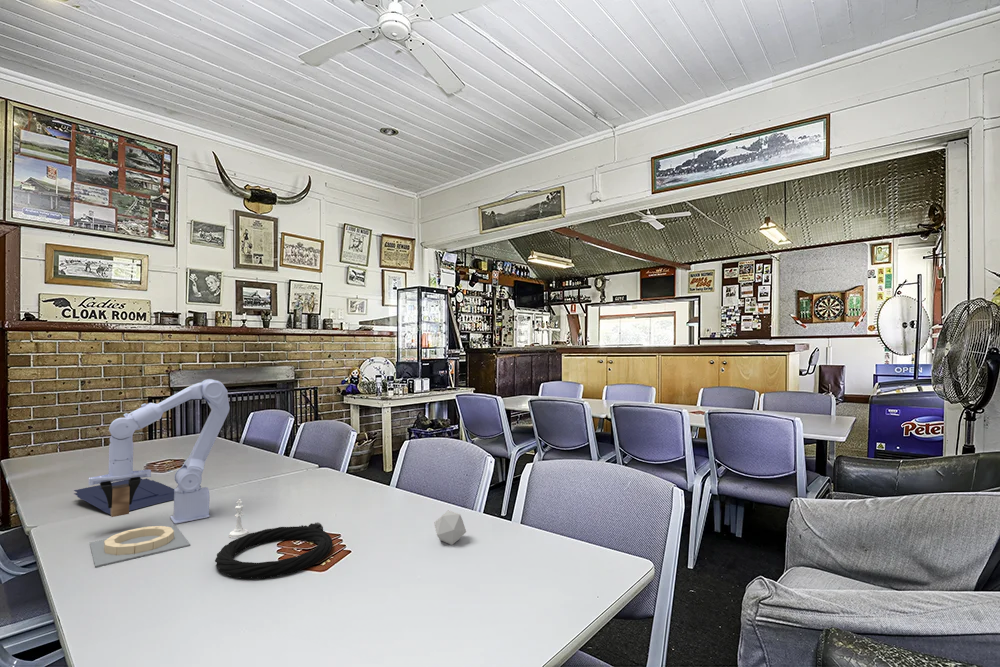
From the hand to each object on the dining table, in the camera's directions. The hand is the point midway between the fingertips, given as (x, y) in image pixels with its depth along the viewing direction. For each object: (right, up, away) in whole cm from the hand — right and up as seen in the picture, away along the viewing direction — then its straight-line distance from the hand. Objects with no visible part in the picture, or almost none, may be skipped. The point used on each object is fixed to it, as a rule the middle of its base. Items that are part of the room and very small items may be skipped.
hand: (119, 505), depth 145 cm
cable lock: (+54, -8, -17) cm, 57 cm away
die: (+98, -8, -8) cm, 99 cm away
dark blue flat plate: (-20, -9, +30) cm, 37 cm away
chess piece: (+37, -8, -3) cm, 38 cm away
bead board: (+14, -7, -11) cm, 19 cm away
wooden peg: (0, -2, 0) cm, 2 cm away
